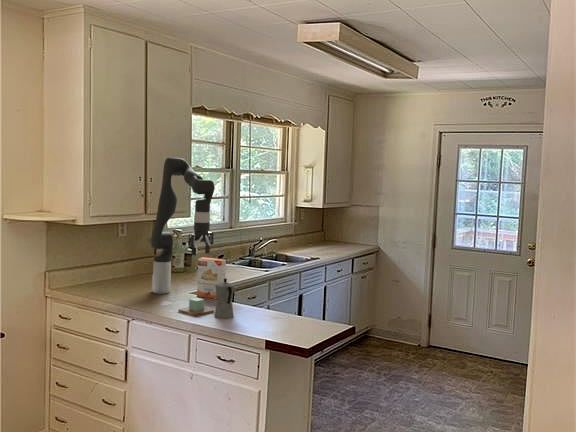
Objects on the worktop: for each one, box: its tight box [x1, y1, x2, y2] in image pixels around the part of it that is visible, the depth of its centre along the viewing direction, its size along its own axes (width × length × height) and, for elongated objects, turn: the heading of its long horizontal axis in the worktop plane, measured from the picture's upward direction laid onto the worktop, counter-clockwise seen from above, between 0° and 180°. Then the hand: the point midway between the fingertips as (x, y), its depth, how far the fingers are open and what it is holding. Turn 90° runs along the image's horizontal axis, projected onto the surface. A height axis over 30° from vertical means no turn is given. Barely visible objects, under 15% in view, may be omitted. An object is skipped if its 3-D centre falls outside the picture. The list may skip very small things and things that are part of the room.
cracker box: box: [196, 256, 227, 300], centre depth 306 cm, size 14×6×21 cm, turn 73°
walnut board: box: [178, 306, 215, 318], centre depth 274 cm, size 12×12×1 cm
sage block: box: [188, 297, 205, 311], centre depth 274 cm, size 5×5×5 cm
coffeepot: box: [214, 277, 236, 319], centre depth 267 cm, size 15×9×18 cm, turn 24°
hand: (200, 254), depth 277 cm, fingers open, 8 cm apart
